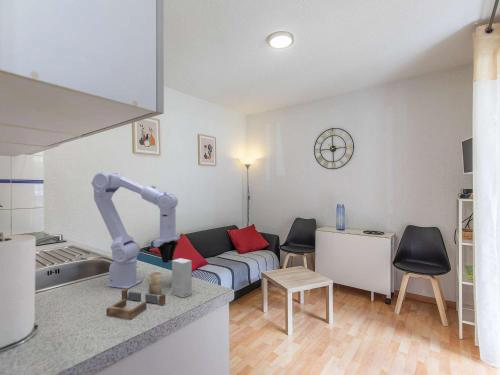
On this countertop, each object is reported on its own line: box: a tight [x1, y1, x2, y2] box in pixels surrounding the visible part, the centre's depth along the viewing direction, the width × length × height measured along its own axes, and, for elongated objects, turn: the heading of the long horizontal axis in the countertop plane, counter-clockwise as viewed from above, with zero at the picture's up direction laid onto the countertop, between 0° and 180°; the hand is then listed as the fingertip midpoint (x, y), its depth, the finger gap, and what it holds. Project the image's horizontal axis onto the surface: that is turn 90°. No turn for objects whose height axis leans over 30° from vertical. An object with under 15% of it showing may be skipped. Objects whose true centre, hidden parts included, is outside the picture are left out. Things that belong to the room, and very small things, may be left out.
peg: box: [148, 271, 162, 295], centre depth 93 cm, size 4×4×7 cm
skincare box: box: [171, 257, 193, 298], centre depth 93 cm, size 6×4×12 cm
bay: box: [106, 299, 147, 321], centre depth 80 cm, size 8×7×2 cm
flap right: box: [144, 293, 159, 305], centre depth 86 cm, size 5×1×3 cm, turn 75°
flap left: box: [126, 290, 142, 302], centre depth 88 cm, size 5×1×3 cm, turn 75°
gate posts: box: [121, 288, 166, 306], centre depth 87 cm, size 16×1×3 cm, turn 75°
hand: (167, 261), depth 100 cm, fingers closed
